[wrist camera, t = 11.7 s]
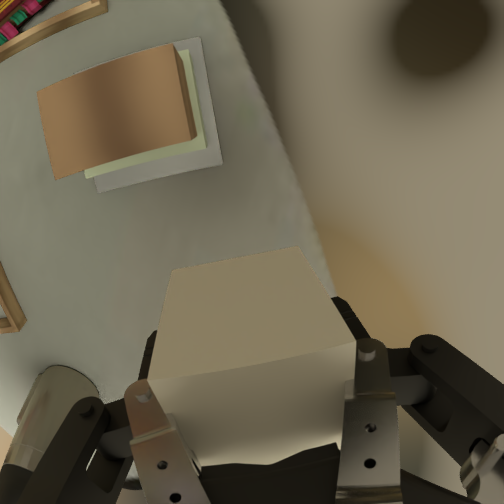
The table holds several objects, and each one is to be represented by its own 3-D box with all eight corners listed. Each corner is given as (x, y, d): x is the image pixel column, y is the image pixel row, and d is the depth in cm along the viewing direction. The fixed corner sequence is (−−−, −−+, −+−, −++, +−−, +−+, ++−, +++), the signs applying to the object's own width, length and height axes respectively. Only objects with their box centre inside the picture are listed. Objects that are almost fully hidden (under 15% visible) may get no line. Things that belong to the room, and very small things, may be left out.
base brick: (102, 170, 26) (86, 178, 23) (85, 89, 23) (67, 86, 20) (207, 144, 27) (206, 148, 23) (192, 58, 23) (188, 48, 20)
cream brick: (202, 363, 14) (202, 474, 9) (172, 270, 12) (147, 380, 7) (307, 343, 15) (347, 446, 9) (297, 245, 13) (356, 341, 7)
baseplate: (102, 190, 28) (97, 193, 27) (78, 74, 23) (73, 73, 22) (222, 162, 29) (223, 164, 28) (200, 39, 24) (200, 36, 23)
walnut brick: (88, 165, 22) (55, 180, 17) (73, 95, 20) (36, 92, 14) (197, 135, 23) (191, 140, 17) (182, 61, 20) (172, 42, 15)
